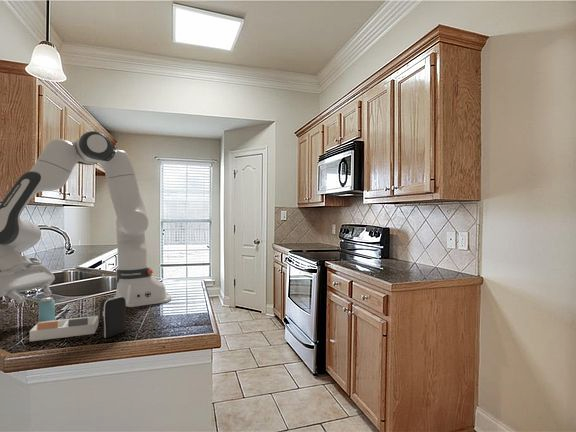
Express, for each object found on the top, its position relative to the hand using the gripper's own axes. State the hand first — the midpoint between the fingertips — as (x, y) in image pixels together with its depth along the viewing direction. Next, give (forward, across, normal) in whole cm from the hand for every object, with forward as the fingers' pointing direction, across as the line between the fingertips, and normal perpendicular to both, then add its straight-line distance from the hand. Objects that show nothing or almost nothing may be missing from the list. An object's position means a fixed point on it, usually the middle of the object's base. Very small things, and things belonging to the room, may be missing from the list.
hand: (36, 298), depth 113 cm
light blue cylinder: (+9, 0, +3) cm, 10 cm away
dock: (+18, -5, -5) cm, 19 cm away
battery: (+29, -4, -16) cm, 33 cm away
